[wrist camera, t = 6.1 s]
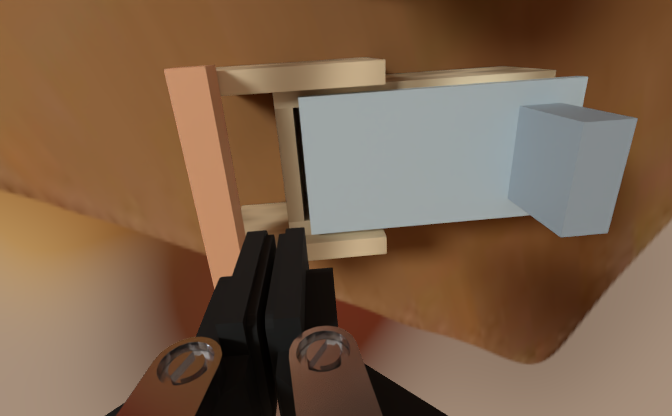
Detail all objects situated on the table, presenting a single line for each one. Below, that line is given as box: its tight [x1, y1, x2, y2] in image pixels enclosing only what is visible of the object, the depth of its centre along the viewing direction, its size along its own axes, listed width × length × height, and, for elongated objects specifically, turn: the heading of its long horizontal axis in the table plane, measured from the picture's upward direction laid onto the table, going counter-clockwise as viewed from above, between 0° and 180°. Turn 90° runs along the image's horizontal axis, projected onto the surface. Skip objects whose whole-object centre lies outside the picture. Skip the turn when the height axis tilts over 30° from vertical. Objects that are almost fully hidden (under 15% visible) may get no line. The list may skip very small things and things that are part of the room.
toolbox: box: [216, 57, 556, 261], centre depth 24 cm, size 20×11×7 cm, turn 94°
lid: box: [298, 76, 638, 237], centre depth 20 cm, size 16×8×6 cm, turn 93°
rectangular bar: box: [164, 65, 246, 288], centre depth 20 cm, size 2×12×2 cm, turn 3°
